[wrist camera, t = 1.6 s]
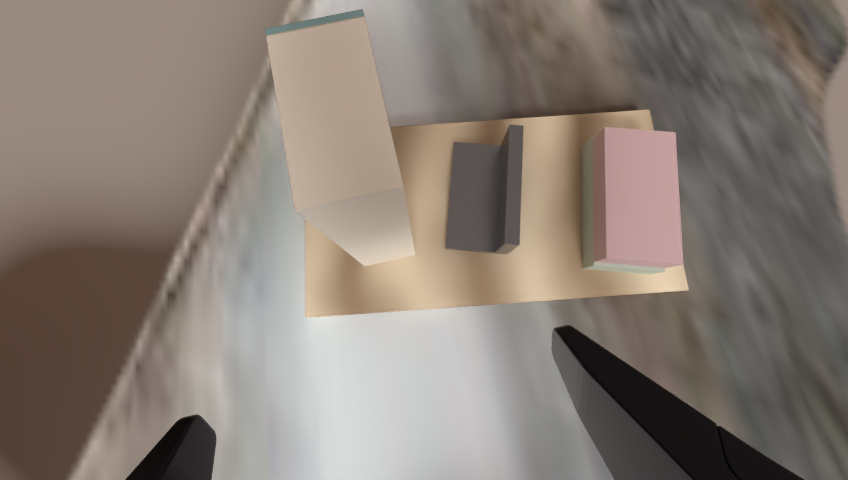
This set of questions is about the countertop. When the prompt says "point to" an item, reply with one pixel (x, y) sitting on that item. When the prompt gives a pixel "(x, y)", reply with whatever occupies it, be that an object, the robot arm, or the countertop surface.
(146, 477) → the robot arm
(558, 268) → the shelf plank
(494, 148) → the metal bookend
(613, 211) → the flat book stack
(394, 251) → the boxed book
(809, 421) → the countertop surface
